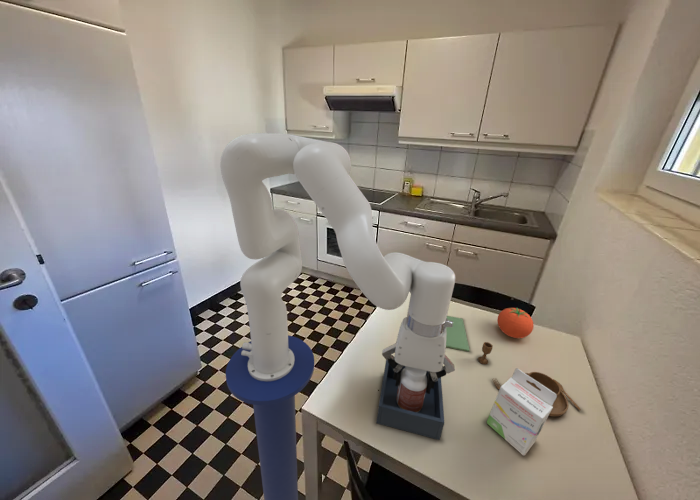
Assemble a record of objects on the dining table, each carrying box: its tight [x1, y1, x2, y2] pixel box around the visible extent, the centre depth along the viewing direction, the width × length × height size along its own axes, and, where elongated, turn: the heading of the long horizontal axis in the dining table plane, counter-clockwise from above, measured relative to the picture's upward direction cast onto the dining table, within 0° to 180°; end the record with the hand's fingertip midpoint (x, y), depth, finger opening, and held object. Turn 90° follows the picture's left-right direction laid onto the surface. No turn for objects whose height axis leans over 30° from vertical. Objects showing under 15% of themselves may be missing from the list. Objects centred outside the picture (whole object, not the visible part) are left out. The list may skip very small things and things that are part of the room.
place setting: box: [477, 341, 581, 417], centre depth 73 cm, size 18×20×6 cm
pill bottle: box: [396, 366, 428, 413], centre depth 64 cm, size 6×6×11 cm
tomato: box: [496, 307, 535, 339], centre depth 90 cm, size 10×10×10 cm
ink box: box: [486, 367, 557, 456], centre depth 58 cm, size 9×5×15 cm, turn 35°
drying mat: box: [446, 315, 470, 352], centre depth 93 cm, size 18×16×1 cm
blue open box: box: [375, 359, 445, 441], centre depth 65 cm, size 14×14×6 cm
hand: (412, 384), depth 64 cm, fingers closed on pill bottle, 6 cm apart
